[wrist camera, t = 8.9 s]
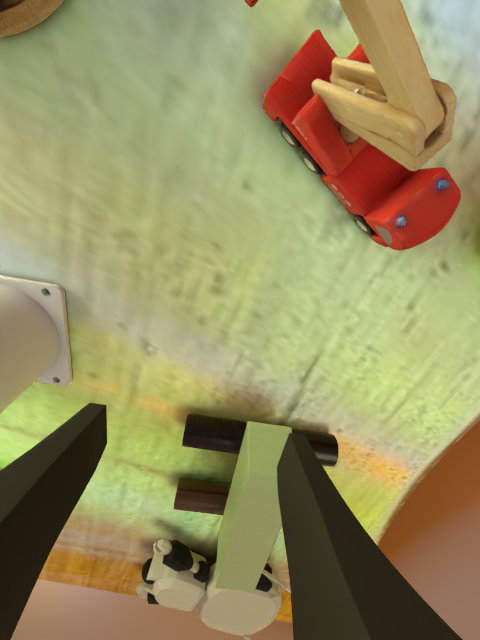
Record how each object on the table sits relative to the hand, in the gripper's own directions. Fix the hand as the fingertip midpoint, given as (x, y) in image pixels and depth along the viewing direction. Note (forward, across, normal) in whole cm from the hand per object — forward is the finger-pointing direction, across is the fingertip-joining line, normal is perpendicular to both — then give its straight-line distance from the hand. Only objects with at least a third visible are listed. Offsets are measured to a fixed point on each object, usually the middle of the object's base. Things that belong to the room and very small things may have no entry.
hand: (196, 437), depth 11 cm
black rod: (+9, -5, +9) cm, 14 cm away
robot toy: (+10, -4, +30) cm, 31 cm away
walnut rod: (+9, -5, +17) cm, 20 cm away
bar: (+7, -5, +12) cm, 15 cm away
